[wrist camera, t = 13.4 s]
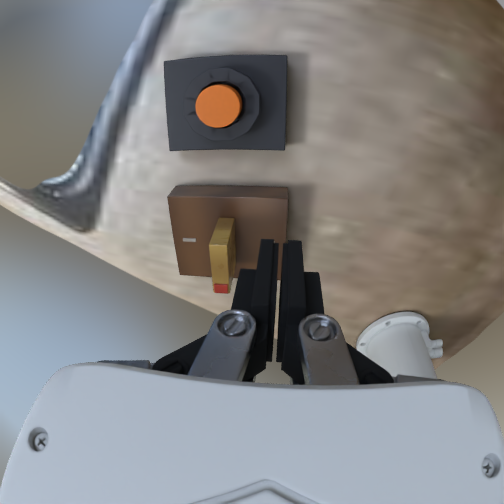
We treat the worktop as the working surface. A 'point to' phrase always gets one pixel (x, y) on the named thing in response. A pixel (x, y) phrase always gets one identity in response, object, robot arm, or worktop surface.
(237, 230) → the plate
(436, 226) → the worktop surface
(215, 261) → the lock knob
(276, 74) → the doorbell
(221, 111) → the bell button
